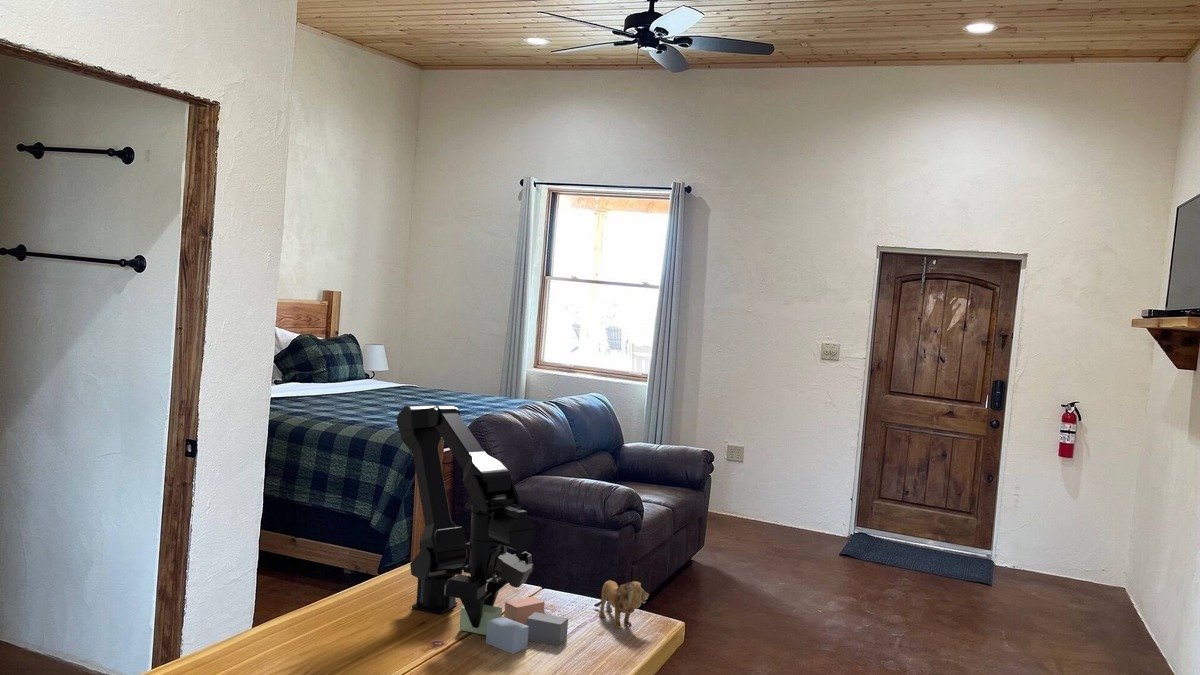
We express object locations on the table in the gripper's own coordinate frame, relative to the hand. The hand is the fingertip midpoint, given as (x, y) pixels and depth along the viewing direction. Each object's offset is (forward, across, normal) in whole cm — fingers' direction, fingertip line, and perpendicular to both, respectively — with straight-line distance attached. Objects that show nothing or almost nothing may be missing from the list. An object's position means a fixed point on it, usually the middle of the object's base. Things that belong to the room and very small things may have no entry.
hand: (480, 624), depth 166 cm
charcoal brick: (+1, +2, -12) cm, 12 cm away
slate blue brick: (+1, -4, -7) cm, 8 cm away
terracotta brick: (+1, +8, -5) cm, 10 cm away
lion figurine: (+2, +18, -20) cm, 27 cm away
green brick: (+1, 0, 0) cm, 1 cm away
